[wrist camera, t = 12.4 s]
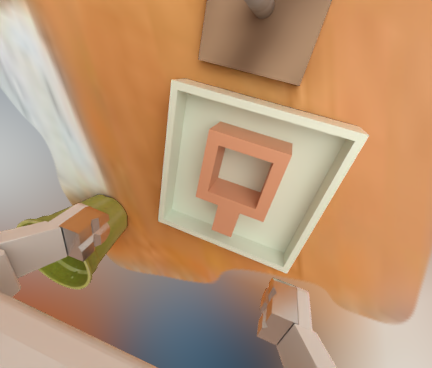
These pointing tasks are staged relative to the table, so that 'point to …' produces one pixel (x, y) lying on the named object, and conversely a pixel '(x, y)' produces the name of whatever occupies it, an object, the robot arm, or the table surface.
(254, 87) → the table surface
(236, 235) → the tray
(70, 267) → the plant pot
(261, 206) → the orange frame with handle
